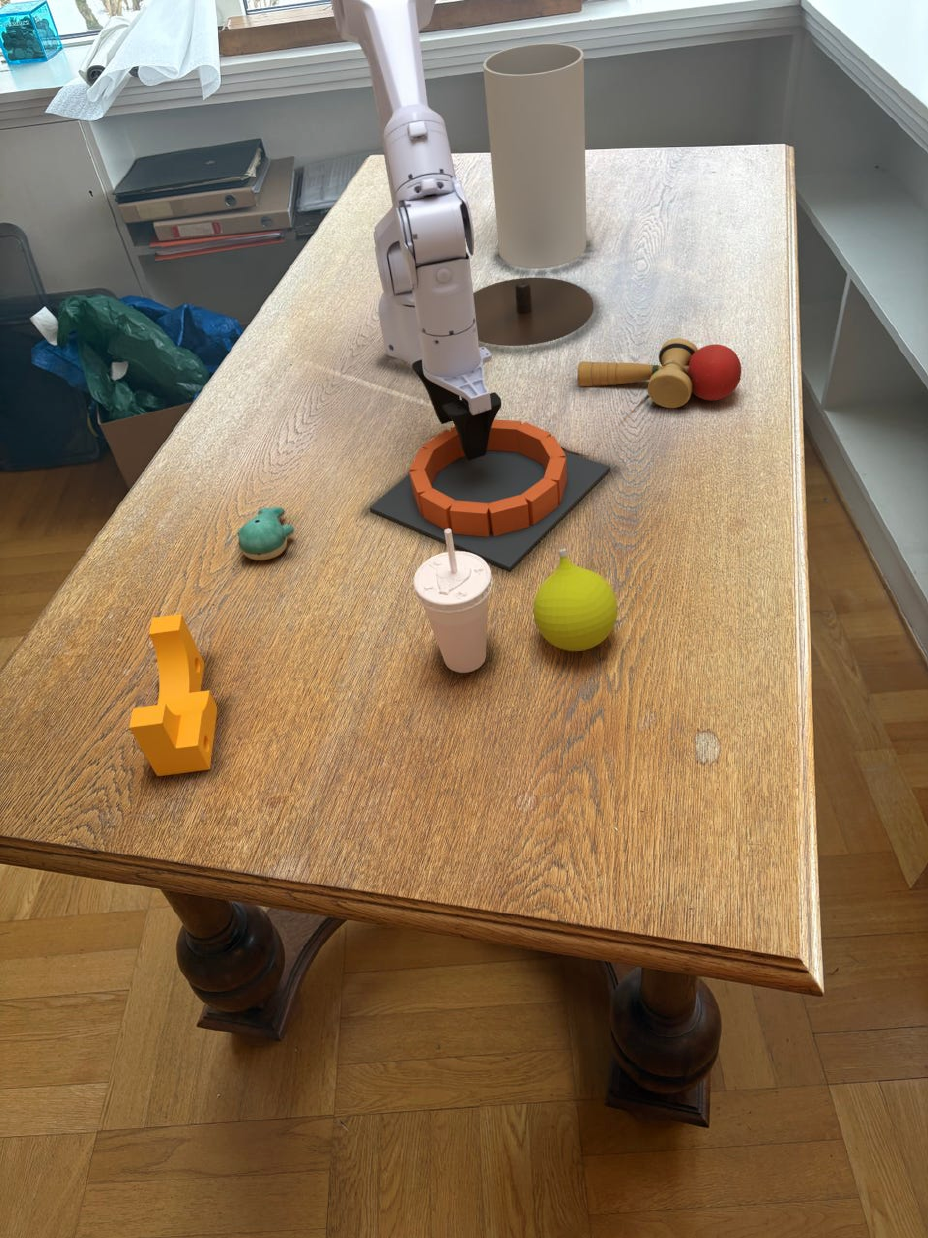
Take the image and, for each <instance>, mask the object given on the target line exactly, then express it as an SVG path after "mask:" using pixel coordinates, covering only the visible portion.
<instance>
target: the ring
mask: <svg viewBox="0 0 928 1238" xmlns="http://www.w3.org/2000/svg"><path fill="white" fill-rule="evenodd" d="M487 450H493V451H508V452H519V453H521V454H523V455H525V456H527V457H529V458H531V459H533V460H536V461H538V462H540V463H542V465H543V467H544V469H545V470H546V472H545V476H544V478H543V479H542V480H540V481H539V482H537V483H536V484H535V485H533V486H532V487H531V488H529V489H528V490H527V491H525V492H524V493H523V494H521V495H518V496H515V497H511V498H507V499H503V500H499V501H495V502H491V503H480V502H468V501H455V500H454V499H452V498H450V497H448V496H446V495H444V494H443V493H441V492H439V491H437V490H435V489H433V488H432V486H431V485H432V483H433V481H434V478H435V476H436V474H437V472H439V471H440V470H442V469H443V468H445V467H446V466H448V465H449V464H450V463H452V462H453V461H455V460H456V459H458V458H460V457H464V456H465V454H464V452H463V449H462V446H461V443H460V439H459V436H458V433H457V430H456V428H455V426H451V427H450V430H449V429H445V430H443V431H442V432H441V433H439V434H437V435H436V436H435V437H433V438H432V439H430V440H429V441H427V442H425V443H424V444H423V445H422V447H421V448H419V449H418V451H417V453H416V455H415V457H414V459H413V461H412V463H411V465H410V468H409V474H410V479H411V484H412V489H413V495H414V497H415V500H416V503H417V505H418V508H419V510H420V513H421V515H423V516H424V518H425V519H426V520H428V521H430V522H432V523H433V524H435V525H437V526H439V527H440V528H442V529H444V530H446V529H451V531H452V530H453V534H461V535H473V536H484V537H489V536H490V533H491V531H492V533H493V536H498V535H501V534H505V533H509V532H513V531H517V530H520V529H524V528H528V527H529V523H530V524H532V525H535V524H536V523H537V522H539V521H540V520H541V519H542V518H544V517H545V516H546V515H548V514H549V513H550V512H552V511H553V510H554V509H555V508H557V507H558V503H561V499H562V496H563V493H564V489H565V486H566V483H567V470H566V455H565V453H564V452H563V451H564V450H563V448H562V447H561V445H560V443H559V442H558V440H557V439H556V437H555V435H552V433H551V432H549V431H547V430H544V429H542V428H540V427H538V426H536V425H534V424H532V423H528V422H527V421H524V422H523V423H522V421H521V420H511V419H495V418H494V421H493V423H492V426H491V430H490V435H489V441H488V447H487Z"/></svg>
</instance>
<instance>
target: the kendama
mask: <svg viewBox="0 0 928 1238" xmlns="http://www.w3.org/2000/svg"><path fill="white" fill-rule="evenodd" d="M658 360H659V363H660V365H659V364H648V363H637V362H616V361H615V362H613V361H612V362H608V361H586V360H585V361H584V360H582V361H579V363H578V366H577V383H578V386H579V387H594V386H595V387H600V386H613V385H623V384H632V383H640V382H641V383H642V382H644V381H645V382H647V381H648V385H647V395H648V397H649V399H650V400H651V401H652V402H653V403H655V404H656V405H657V406H660V407H663V408H667V409H676V408H680V407H682V406H684V405H685V404H687V403H688V402H689V400H690V398H691V396H692V394H694V395H695V396H696V397H698V398H700V399H702V400H704V401H719V400H722V399H724V398H727V397H728V396H730V395H731V394H732V393H733V392H734V391H736V388H737V387H738V386H739V384H740V382H741V379H742V378H741V377H742V364H741V361H740V359H739V356H738V355H737V353H736V352H735V351H733V350H732V349H731V348H730V347H727V346H726V345H722V344H716V343H715V344H708V345H705V346H702V347H701V348H699V349H698V347H697V346H696V345H695V343H694V342H692V341H690V340H688V339H686V338H682V337H681V338H680V337H675V338H671V339H669V340H667V341H666V342H664V343H663V344H662V346H661V348H660V350H659V353H658Z"/></svg>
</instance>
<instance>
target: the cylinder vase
mask: <svg viewBox="0 0 928 1238" xmlns="http://www.w3.org/2000/svg"><path fill="white" fill-rule="evenodd" d="M584 54H585V53H584V51H583V50H582V49H581V48H580V47H577V46H575V45H571V44H568V43H567V44H566V43H557V42H556V43H555V42H548V43H547V42H546V43H532V44H525V45H519V46H514V47H510V48H507V49H503V50H500V51H498V52H495V53H493V54H492V55H490V56H488V57H487V58H486V59H485V60H484V61H483V64H482V67H483V78H484V90H485V103H486V113H487V126H488V127H487V128H488V136H489V149H490V161H491V163H490V164H491V173H492V174H491V175H492V185H493V197H494V198H493V199H494V209H495V210H494V211H495V222H496V223H495V224H496V232H497V233H496V234H497V235H496V236H497V246H498V247H497V248H498V255H499V257H500V259H501V260H503V261H504V263H507V264H509V265H511V266H514V267H516V268H517V267H518V268H523V269H549V268H555V267H559V266H562V265H566V264H568V263H570V262H573V261H575V260H576V259H578V258H579V257H581V256H582V255H583V254H584V253H585V252H586V249H587V243H588V241H587V239H588V237H587V186H586V185H587V184H586V183H587V182H586V179H587V177H586V128H585V127H586V125H585V124H586V123H585V122H586V121H585V120H586V119H585V118H586V117H585V114H586V113H585V65H584V63H585V62H584V57H585V55H584Z"/></svg>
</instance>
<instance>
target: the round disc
mask: <svg viewBox="0 0 928 1238" xmlns="http://www.w3.org/2000/svg"><path fill="white" fill-rule="evenodd" d="M473 295H474V305H475V314H476V324H477V332H478V341H479V342H482V343H485V344H488V345H495V346H503V347H525V346H534V345H540V344H545V343H549V342H553V341H556V340H558V339H562V338H564V337H566V336H568V335H571V334H572V333H574V332H576V331H578V330H579V329H581V328H582V327H583V326H584V325H585V324H586V323H587V322H588V321H589V320H590V318H591V317H592V316H593V314H594V309H595V305H594V299H593V298H592V296H591V295H590V293H588V291H586V290H585V289H584V288H582V287H581V286H579V285H577V284H574V283H572V282H570V281H566V280H562V279H557V278H552V277H551V278H550V277H519V278H512V279H508V280H503V281H499V282H496V283H493V284H490V285H487V286H485V287H483V288H480V289H479V290H477V291H475V292H473Z"/></svg>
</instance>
